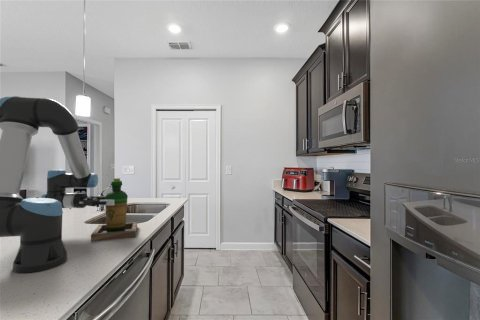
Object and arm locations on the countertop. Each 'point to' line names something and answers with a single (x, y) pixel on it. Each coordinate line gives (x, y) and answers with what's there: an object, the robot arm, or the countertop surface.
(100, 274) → the countertop surface
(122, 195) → the bottle
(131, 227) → the walnut frame
